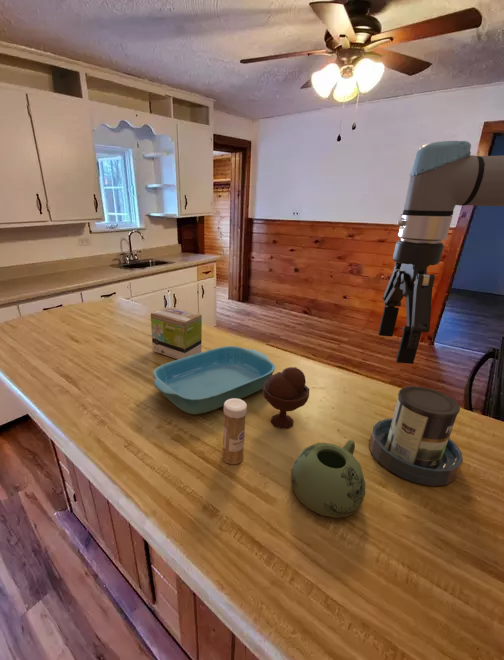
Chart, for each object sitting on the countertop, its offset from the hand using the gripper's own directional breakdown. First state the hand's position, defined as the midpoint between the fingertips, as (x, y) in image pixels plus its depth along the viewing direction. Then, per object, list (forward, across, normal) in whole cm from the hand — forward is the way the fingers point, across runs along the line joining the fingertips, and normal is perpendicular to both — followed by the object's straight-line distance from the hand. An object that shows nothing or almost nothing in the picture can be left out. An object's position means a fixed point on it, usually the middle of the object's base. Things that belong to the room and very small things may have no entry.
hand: (393, 347), depth 69 cm
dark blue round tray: (+23, +5, +7) cm, 24 cm away
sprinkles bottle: (+23, +14, -30) cm, 40 cm away
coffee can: (+23, +5, +7) cm, 24 cm away
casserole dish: (+23, -12, -39) cm, 47 cm away
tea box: (+23, -33, -57) cm, 70 cm away
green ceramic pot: (+23, +18, -11) cm, 31 cm away
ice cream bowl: (+23, -1, -20) cm, 31 cm away
